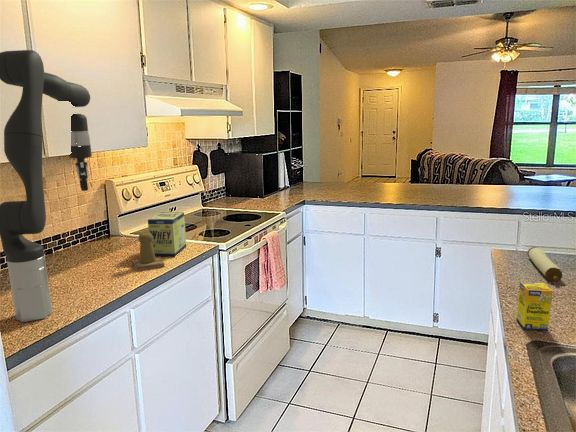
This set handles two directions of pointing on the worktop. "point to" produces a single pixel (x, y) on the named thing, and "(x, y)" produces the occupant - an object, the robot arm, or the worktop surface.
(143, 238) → the cork
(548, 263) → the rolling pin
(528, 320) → the supplement box
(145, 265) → the brown square tray
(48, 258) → the worktop surface
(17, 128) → the robot arm
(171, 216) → the protein box
